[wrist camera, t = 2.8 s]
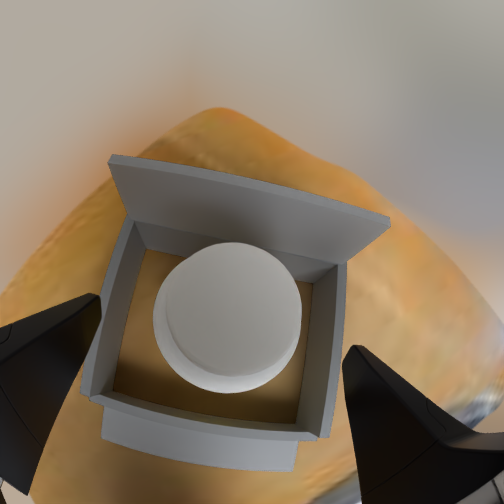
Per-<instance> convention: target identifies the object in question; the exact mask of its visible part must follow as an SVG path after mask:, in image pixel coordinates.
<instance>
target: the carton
mask: <svg viewBox="0 0 504 504" xmlns="http://www.w3.org/2000/svg"><path fill="white" fill-rule="evenodd" d="M108 165H109V168H110V171H111V174H112V176H113V179H114V181H115V184H116V187H117V189H118V192H119V194H120V197H121V199H122V202H123V204H124V206H125V209H126V211H127V216H126V218H125V221H124V223H123V226H122V229H121V231H120V234H119V237H118V240H117V242H116V245H115V248H114V251H113V254H112V257H111V260H110V263H109V266H108V269H107V272H106V276H105V279H104V282H103V286H102V289H101V293H100V298H101V308H102V319H101V322H100V325H99V327H98V329H97V332H96V334H95V337H94V339H93V341H92V344H91V346H90V349H89V351H88V354H87V356H86V358H85V362H84V368H83V374H82V380H81V387H80V394H83V395H85V396H88V397H89V401H92V402H94V403H97V404H99V405H102V406H104V412H103V421H102V431H101V438H102V439H104V440H107V441H110V442H113V443H115V444H118V445H121V446H125V447H128V448H131V449H134V450H138V451H141V452H145V453H148V454H152V455H156V456H160V457H164V458H168V459H173V460H177V461H182V462H188V463H193V464H199V465H205V466H212V467H220V468H228V469H238V470H252V471H278V472H292V471H293V467H294V462H295V458H296V453H297V448H298V443H299V441H317V437H319V438H329V437H330V431H331V426H332V420H333V414H334V408H335V402H336V395H337V388H338V380H339V372H340V364H341V354H342V344H343V332H344V319H345V303H346V279H347V261H348V260H349V259H351V258H352V257H353V256H355V255H356V254H357V253H358V252H360V251H361V250H362V249H364V248H365V247H366V246H367V245H369V244H370V243H371V242H372V241H374V240H375V239H376V238H377V237H379V236H380V235H381V234H382V233H384V232H385V231H386V230H387V229H389V228H390V227H391V224H390V217H387V216H384V215H381V214H378V213H375V212H372V211H369V210H366V209H363V208H360V207H356V206H353V205H350V204H346V203H343V202H340V201H336V200H333V199H329V198H326V197H322V196H319V195H315V194H312V193H308V192H304V191H300V190H297V189H293V188H289V187H285V186H281V185H277V184H273V183H269V182H264V181H260V180H256V179H251V178H247V177H242V176H238V175H233V174H229V173H224V172H219V171H214V170H209V169H204V168H198V167H193V166H188V165H182V164H176V163H170V162H164V161H158V160H151V159H145V158H138V157H130V156H123V155H114V154H113V155H112V156H111V158H110V160H109V161H108ZM231 242H232V243H244V244H248V245H252V246H255V247H257V248H260V249H262V250H264V251H266V252H268V253H270V254H271V255H272V256H274V257H275V258H276V259H278V260H279V261H280V262H281V263H282V264H283V265H284V266H285V268H286V269H287V270H288V271H289V272H290V274H291V276H292V277H293V279H294V280H297V281H303V282H308V283H313V292H312V303H311V313H310V323H309V332H308V341H307V350H306V358H305V365H304V373H303V380H302V387H301V393H300V400H299V406H298V412H297V418H296V424H285V423H269V422H258V421H248V420H239V419H232V418H225V417H218V416H212V415H206V414H201V413H195V412H190V411H185V410H181V409H176V408H172V407H168V406H164V405H160V404H156V403H152V402H148V401H145V400H141V399H138V398H134V397H131V396H128V395H124V394H121V393H118V392H115V391H113V385H114V379H115V373H116V368H117V362H118V357H119V352H120V347H121V342H122V337H123V333H124V328H125V324H126V320H127V315H128V311H129V307H130V303H131V299H132V296H133V292H134V288H135V285H136V281H137V277H138V274H139V270H140V267H141V264H142V260H143V257H144V254H145V251H146V249H150V250H155V251H159V252H164V253H168V254H173V255H177V256H182V257H186V258H189V257H191V256H192V255H193V254H195V253H196V252H198V251H200V250H202V249H204V248H206V247H209V246H212V245H215V244H221V243H231Z"/></svg>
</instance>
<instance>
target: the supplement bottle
mask: <svg viewBox="0 0 504 504" xmlns="http://www.w3.org/2000/svg"><path fill="white" fill-rule="evenodd" d="M301 317H302V304H301V298H300V294H299V291H298V288H297V285H296V283H295V281H294V279H293V277H292V276H291V274H290V272H289V271H288V270H287V269H286V268H285V266H284V265H283V264H282V263H281V262H280V261H279V260H278V259H276V258H275V257H274V256H272V255H271V254H270V253H268V252H266V251H264V250H262V249H260V248H257V247H255V246H252V245H248V244H244V243H232V242H231V243H221V244H215V245H212V246H209V247H206V248H204V249H202V250H200V251H198V252H196V253H195V254H193V255H192V256H191V257H189V258H187V259H185V260H184V261H182V262H181V263H180V264H178V265H177V266H176V267H175V268H174V269H173V270H172V271H171V272H170V273H169V275H168V276H167V277H166V279H165V280H164V282H163V283H162V285H161V287H160V289H159V292H158V294H157V297H156V300H155V304H154V310H153V328H154V334H155V338H156V342H157V344H158V347H159V349H160V351H161V353H162V355H163V357H164V358H165V360H166V361H167V363H168V364H169V365H170V366H171V367H172V368H173V370H174V371H175V372H176V373H178V374H179V375H180V376H181V377H182V378H184V379H185V380H187V381H188V382H190V383H192V384H193V385H195V386H197V387H200V388H202V389H205V390H209V391H213V392H219V393H238V392H244V391H248V390H252V389H255V388H257V387H259V386H261V385H263V384H265V383H267V382H268V381H270V380H271V379H273V378H274V377H275V376H276V375H278V374H279V373H280V372H281V371H282V370H283V369H284V367H285V366H286V365H287V363H288V362H289V360H290V359H291V357H292V355H293V354H294V352H295V349H296V347H297V343H298V340H299V336H300V329H301Z"/></svg>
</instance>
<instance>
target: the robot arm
mask: <svg viewBox="0 0 504 504" xmlns="http://www.w3.org/2000/svg"><path fill="white" fill-rule="evenodd" d="M101 319H102V308H101V298H100V296H99V295H96V294H93V293H87V294H85V295H82V296H80V297H77V298H74V299H72V300H69V301H67V302H64V303H62V304H59V305H56V306H54V307H51V308H49V309H46V310H44V311H41V312H39V313H36V314H33V315H31V316H28V317H26V318H23V319H21V320H18V321H16V322H14V323H13V324H12V323H11V324H8V325H6V326H4V327H1V328H0V488H1V486H2V483H3V481H6V482H7V483H9V484H10V485H11V486H13V487H14V488H16V489H17V490H19V491H20V492H22V493H23V494H25V495H28V493H29V490H30V487H31V484H32V481H33V478H34V475H35V472H36V469H37V466H38V463H39V460H40V457H41V455H42V452H43V448H44V446H45V444H46V441H47V439H48V436H49V434H50V432H51V429H52V427H53V424H54V422H55V420H56V418H57V415H58V413H59V411H60V409H61V406H62V404H63V402H64V400H65V398H66V396H67V394H68V391H69V389H70V387H71V385H72V383H73V381H74V379H75V377H76V375H77V373H78V371H79V369H80V368H81V366H82V364H83V362H84V360H85V358H86V356H87V354H88V351H89V349H90V346H91V344H92V341H93V339H94V337H95V334H96V332H97V329H98V327H99V325H100V322H101ZM342 372H343V382H344V393H345V402H346V407H347V412H348V418H349V423H350V428H351V434H352V439H353V445H354V451H355V457H356V463H357V470H358V477H359V484H360V491H361V496H362V497H361V500H362V504H504V432H499V433H479V432H476V431H473V430H472V429H470V428H469V427H467V426H466V425H464V424H463V423H461V422H460V421H458V420H457V419H455V418H454V417H452V416H451V415H449V414H448V413H447V412H445V411H444V410H442V409H441V408H440V407H439V406H437V405H436V404H435V403H433V402H432V401H431V400H430V399H428V398H427V397H426V396H425V395H423V394H422V393H421V392H420V391H418V390H417V389H416V388H415V387H413V386H412V385H411V384H410V383H408V382H407V381H406V380H405V379H404V378H402V377H401V376H400V375H399V374H397V373H396V372H395V371H394V370H392V369H391V368H390V367H389V366H387V365H386V364H385V363H384V362H383V361H381V360H380V359H379V358H378V357H376V356H375V355H374V354H373V353H371V352H370V351H369V350H368V349H366V348H365V347H364V346H362V345H352V346H351V347H350V349H349V351H348V353H347V354H346V356H345V358H344V360H343V362H342ZM0 504H6V501H5V499H4V497H3V494H2V492H1V489H0Z"/></svg>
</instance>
